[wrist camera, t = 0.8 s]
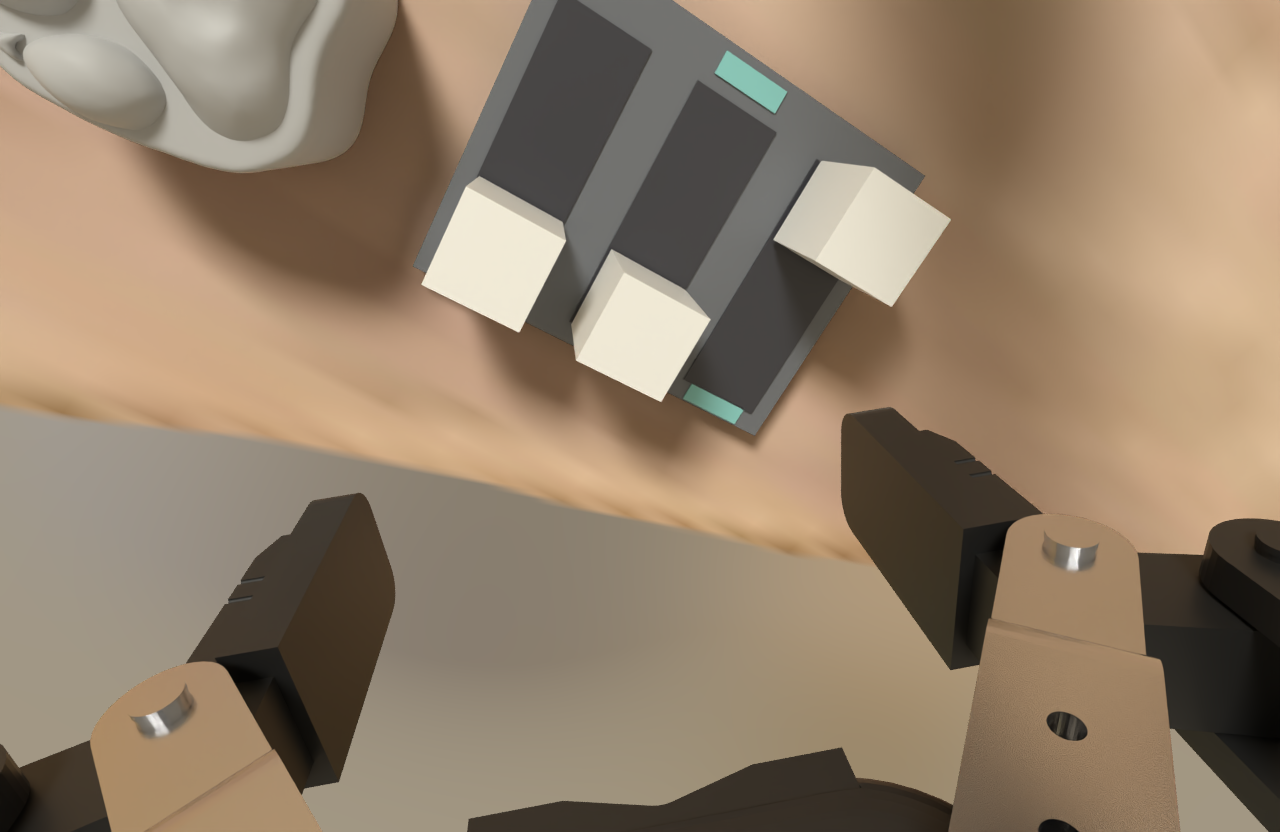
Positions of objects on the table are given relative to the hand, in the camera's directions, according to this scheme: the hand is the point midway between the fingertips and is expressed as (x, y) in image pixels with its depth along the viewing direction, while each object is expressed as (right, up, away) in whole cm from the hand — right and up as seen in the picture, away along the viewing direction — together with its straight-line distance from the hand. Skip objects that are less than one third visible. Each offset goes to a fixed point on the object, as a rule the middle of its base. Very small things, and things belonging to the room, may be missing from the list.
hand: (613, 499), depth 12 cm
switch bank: (+2, +11, +22) cm, 24 cm away
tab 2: (+9, +11, +21) cm, 25 cm away
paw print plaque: (-17, +18, +16) cm, 30 cm away
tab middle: (0, +7, +21) cm, 22 cm away
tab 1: (-6, +9, +19) cm, 22 cm away
